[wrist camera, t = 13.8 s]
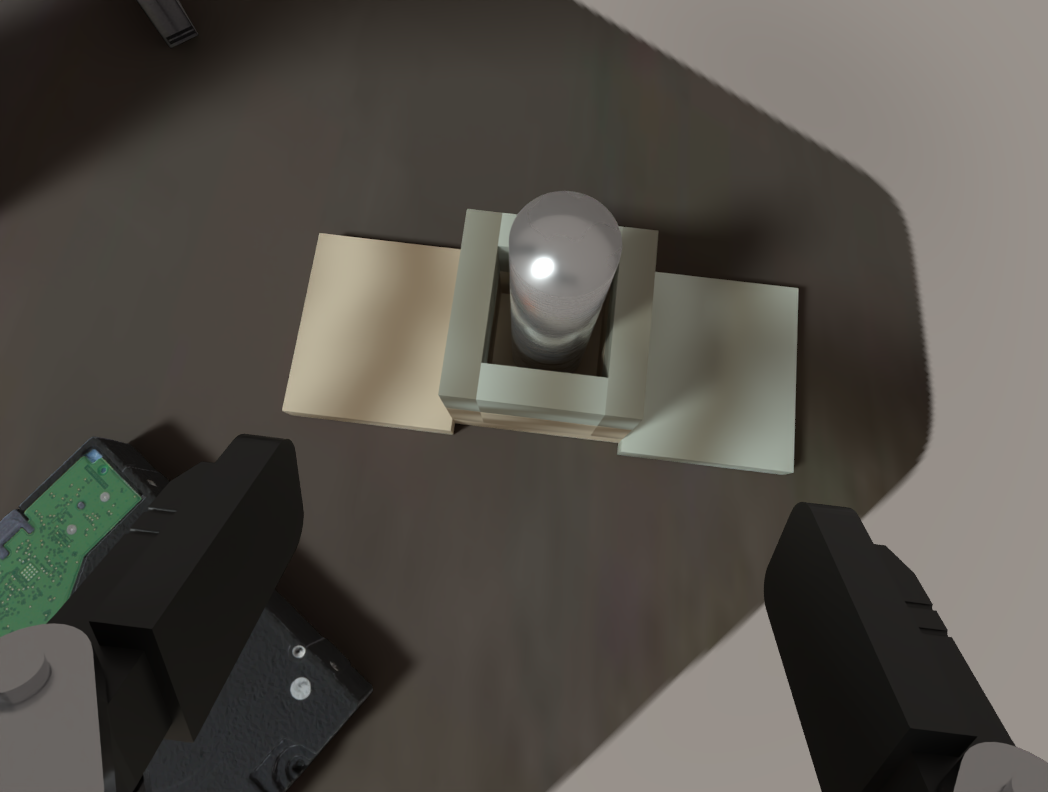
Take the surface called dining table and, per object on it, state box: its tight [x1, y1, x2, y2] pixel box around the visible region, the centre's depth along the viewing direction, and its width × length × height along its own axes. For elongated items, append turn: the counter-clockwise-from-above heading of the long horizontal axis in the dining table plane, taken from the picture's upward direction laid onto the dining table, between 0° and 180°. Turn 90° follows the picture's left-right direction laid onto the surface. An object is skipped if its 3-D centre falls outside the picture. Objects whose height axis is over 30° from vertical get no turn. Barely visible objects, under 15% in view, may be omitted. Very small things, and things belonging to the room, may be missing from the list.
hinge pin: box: [509, 191, 622, 374], centre depth 21 cm, size 3×3×10 cm
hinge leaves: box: [282, 209, 798, 475], centre depth 25 cm, size 21×8×6 cm, turn 83°
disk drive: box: [0, 437, 373, 792], centre depth 24 cm, size 10×3×15 cm
